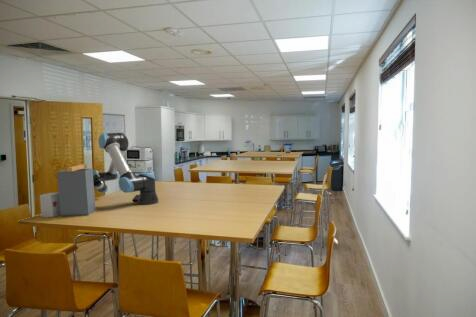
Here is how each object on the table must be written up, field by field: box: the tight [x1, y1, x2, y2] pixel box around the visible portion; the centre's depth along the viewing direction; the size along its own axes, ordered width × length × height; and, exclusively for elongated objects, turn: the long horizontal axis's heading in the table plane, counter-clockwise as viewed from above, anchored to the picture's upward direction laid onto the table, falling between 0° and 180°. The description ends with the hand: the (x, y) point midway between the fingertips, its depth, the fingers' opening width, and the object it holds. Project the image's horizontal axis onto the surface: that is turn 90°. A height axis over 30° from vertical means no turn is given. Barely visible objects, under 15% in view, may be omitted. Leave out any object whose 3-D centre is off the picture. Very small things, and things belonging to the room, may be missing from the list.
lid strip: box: [66, 163, 88, 172], centre depth 226 cm, size 3×24×3 cm, turn 4°
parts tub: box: [56, 168, 96, 218], centre depth 224 cm, size 18×13×30 cm
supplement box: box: [39, 192, 61, 218], centre depth 222 cm, size 9×9×15 cm
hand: (87, 172), depth 243 cm, fingers open, 13 cm apart
